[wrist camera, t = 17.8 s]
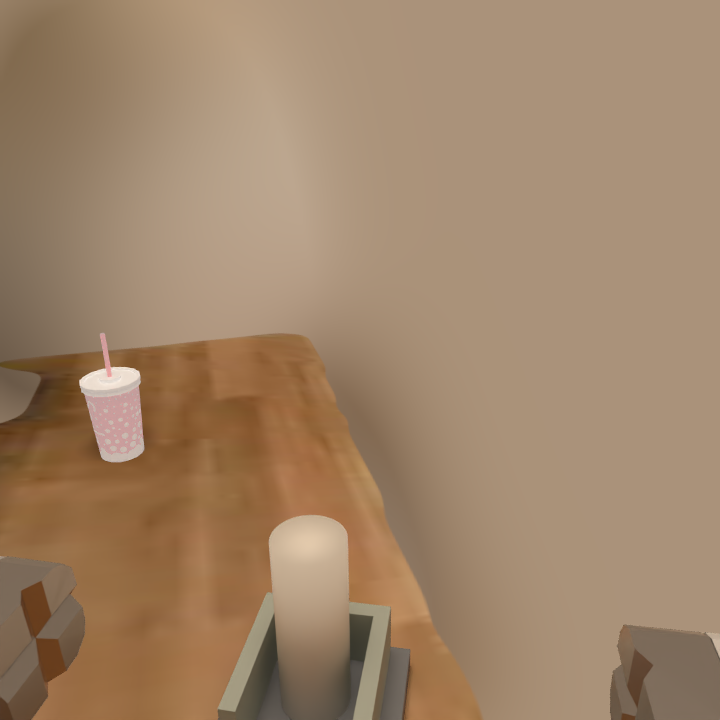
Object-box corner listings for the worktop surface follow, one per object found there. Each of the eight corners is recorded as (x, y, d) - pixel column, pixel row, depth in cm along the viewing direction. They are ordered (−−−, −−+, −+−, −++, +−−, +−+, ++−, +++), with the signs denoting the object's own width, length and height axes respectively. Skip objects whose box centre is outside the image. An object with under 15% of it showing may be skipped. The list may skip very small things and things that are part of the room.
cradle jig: (409, 665, 44) (411, 603, 42) (385, 875, 32) (385, 803, 30) (256, 645, 46) (251, 585, 44) (179, 837, 34) (166, 766, 32)
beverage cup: (98, 441, 74) (76, 326, 68) (153, 435, 75) (136, 322, 69) (88, 469, 68) (64, 346, 63) (148, 462, 69) (129, 341, 64)
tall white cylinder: (356, 670, 42) (354, 518, 37) (343, 731, 38) (339, 569, 33) (291, 662, 43) (281, 511, 38) (272, 721, 39) (258, 560, 34)
